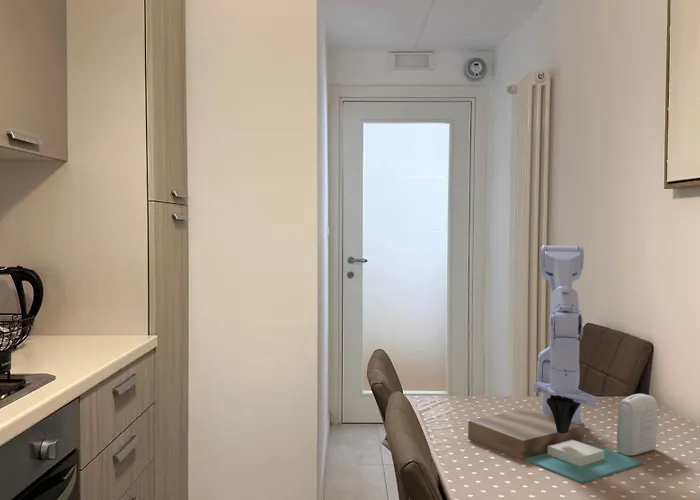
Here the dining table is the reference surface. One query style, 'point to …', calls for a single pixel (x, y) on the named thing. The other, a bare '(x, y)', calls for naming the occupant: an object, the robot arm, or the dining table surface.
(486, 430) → the wood grain panel
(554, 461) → the mat
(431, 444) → the dining table surface
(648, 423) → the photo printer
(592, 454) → the coaster
